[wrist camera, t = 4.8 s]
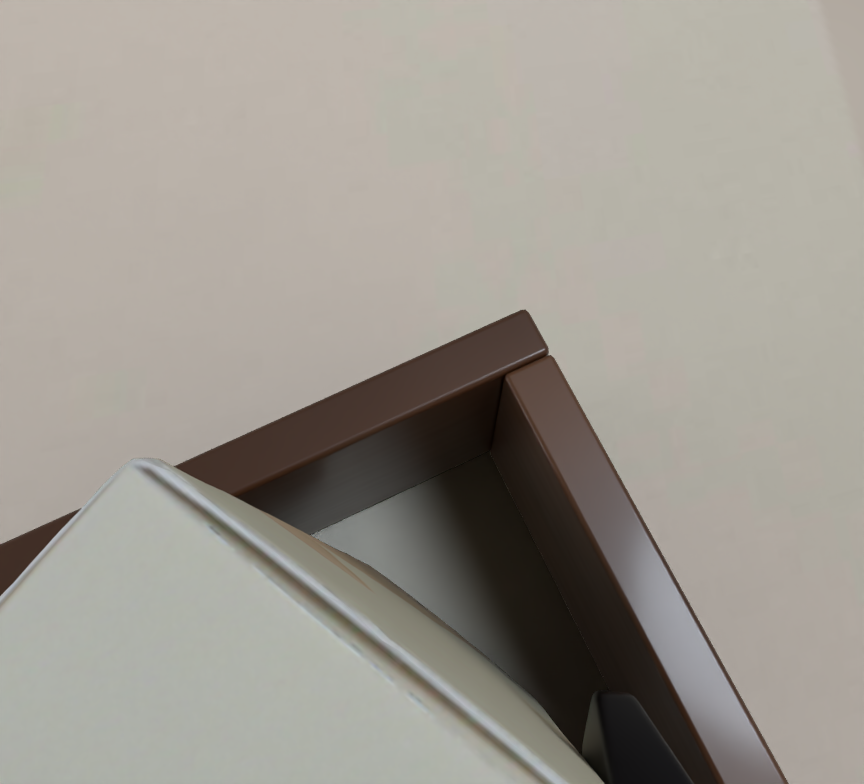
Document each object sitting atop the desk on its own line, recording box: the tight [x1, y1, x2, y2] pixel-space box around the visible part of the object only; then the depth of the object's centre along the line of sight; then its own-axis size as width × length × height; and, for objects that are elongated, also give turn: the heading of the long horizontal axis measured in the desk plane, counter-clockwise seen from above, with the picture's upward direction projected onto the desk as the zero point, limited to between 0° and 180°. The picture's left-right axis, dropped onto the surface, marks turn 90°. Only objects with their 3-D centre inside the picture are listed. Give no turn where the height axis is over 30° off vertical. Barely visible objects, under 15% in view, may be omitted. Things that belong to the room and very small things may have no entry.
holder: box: [0, 310, 789, 784], centre depth 12 cm, size 10×11×5 cm
